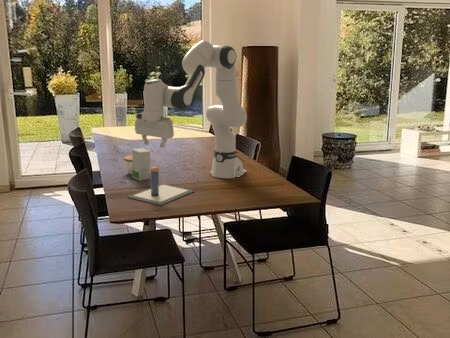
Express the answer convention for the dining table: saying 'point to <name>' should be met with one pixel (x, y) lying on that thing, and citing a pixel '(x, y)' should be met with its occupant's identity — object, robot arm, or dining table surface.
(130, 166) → the lidded bowl
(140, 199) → the mat
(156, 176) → the marker
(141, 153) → the skincare box
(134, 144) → the dining table surface
